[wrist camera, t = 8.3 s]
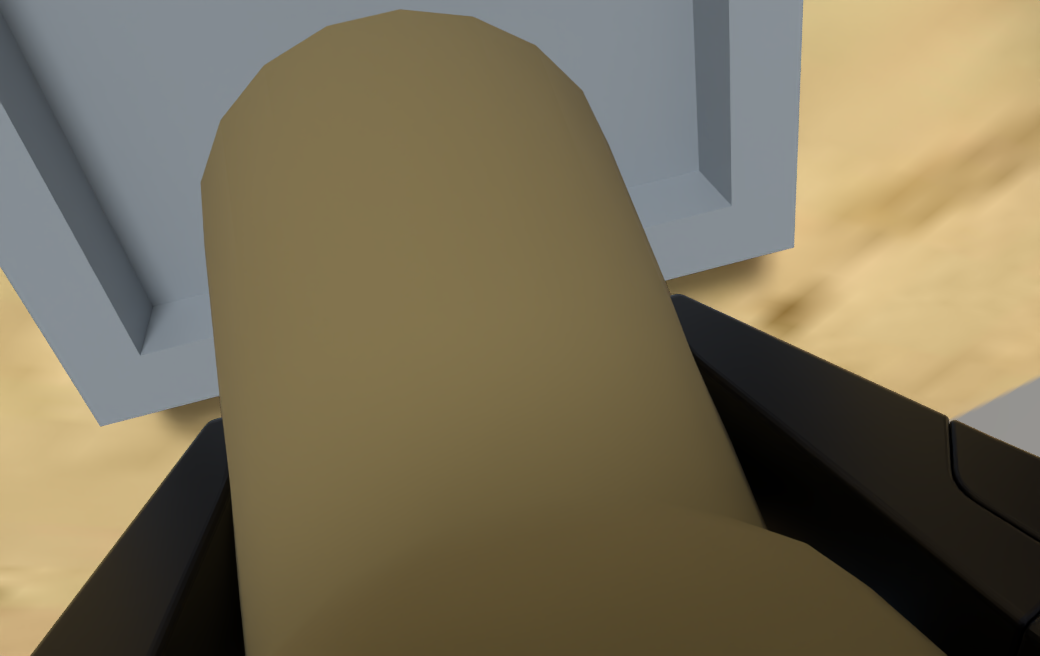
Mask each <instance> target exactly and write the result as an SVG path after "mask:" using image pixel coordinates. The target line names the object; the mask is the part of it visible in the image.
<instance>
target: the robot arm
mask: <svg viewBox="0 0 1040 656" xmlns="http://www.w3.org/2000/svg"><path fill="white" fill-rule="evenodd" d="M670 297H671V300H672V303H673V305H674V308H675V311H676V313H677V316H678V318H679V321H680V324H681V326H682V329H683V332H684V334H685V337H686V340H687V342H688V345H689V347H690V350H691V352H692V355H693V357H694V360H695V362H696V365H697V367H698V369H699V371H700V374H701V376H702V378H703V380H704V382H705V385H706V387H707V389H708V391H709V393H710V396H711V398H712V400H713V402H714V404H715V407H716V409H717V411H718V413H719V415H720V418H721V420H722V422H723V424H724V426H725V429H726V431H727V433H728V435H729V437H730V440H731V442H732V444H733V447H734V449H735V452H736V454H737V456H738V459H739V461H740V464H741V466H742V468H743V471H744V473H745V476H746V478H747V481H748V483H749V485H750V488H751V490H752V493H753V495H754V498H755V500H756V502H757V505H758V507H759V510H760V512H761V514H762V517H763V519H764V522H765V524H766V527H767V529H768V531H771V532H774V533H777V534H780V535H783V536H786V537H789V538H792V539H795V540H798V541H801V542H803V543H806V544H808V545H809V546H811V547H812V548H814V549H815V550H817V551H818V552H820V553H821V554H822V555H824V556H825V557H827V558H828V559H830V560H831V561H833V562H834V563H835V564H837V565H838V566H840V567H841V568H843V569H844V570H846V571H847V572H848V573H850V574H851V575H853V576H854V577H856V578H857V579H859V580H860V581H862V582H863V583H864V584H866V585H867V586H869V587H870V588H871V589H873V590H874V591H875V592H876V593H877V594H878V595H879V596H881V597H882V598H883V599H884V600H885V601H886V602H887V603H888V604H890V605H891V606H892V607H893V608H894V609H895V610H896V611H898V612H899V613H900V614H901V615H902V616H903V617H904V618H906V619H907V620H908V621H909V622H910V623H911V624H912V625H914V626H915V627H916V628H917V629H918V630H919V631H920V632H922V633H923V634H924V635H925V636H926V637H927V638H928V639H929V640H931V641H932V642H933V643H934V644H935V645H936V646H937V647H939V648H940V649H941V650H942V651H943V652H944V653H945V654H947V655H948V656H1040V457H1038V456H1036V455H1033V454H1031V453H1029V452H1027V451H1024V450H1022V449H1019V448H1017V447H1015V446H1013V445H1010V444H1008V443H1006V442H1004V441H1001V440H999V439H997V438H994V437H992V436H990V435H987V434H985V433H983V432H981V431H979V430H977V429H975V428H972V427H970V426H968V425H965V424H964V423H961V422H959V421H957V420H952V421H951V422H950V424H949V418H948V417H947V416H946V415H943V414H941V413H939V412H937V411H935V410H933V409H930V408H928V407H926V406H924V405H922V404H920V403H917V402H915V401H913V400H911V399H909V398H906V397H904V396H902V395H900V394H898V393H896V392H893V391H891V390H889V389H887V388H885V387H883V386H880V385H878V384H876V383H874V382H872V381H869V380H867V379H865V378H863V377H861V376H859V375H856V374H854V373H852V372H850V371H848V370H846V369H843V368H841V367H839V366H837V365H835V364H833V363H830V362H828V361H826V360H824V359H822V358H819V357H817V356H815V355H813V354H811V353H809V352H806V351H804V350H802V349H800V348H798V347H796V346H793V345H791V344H789V343H787V342H785V341H782V340H780V339H778V338H776V337H774V336H772V335H769V334H767V333H765V332H763V331H761V330H759V329H756V328H754V327H752V326H750V325H748V324H746V323H743V322H741V321H739V320H737V319H735V318H732V317H730V316H728V315H726V314H724V313H722V312H719V311H717V310H715V309H713V308H711V307H709V306H706V305H704V304H702V303H700V302H698V301H695V300H693V299H691V298H689V297H687V296H684V295H681V294H675V295H671V296H670ZM31 656H245V646H244V636H243V626H242V616H241V606H240V596H239V586H238V576H237V564H236V552H235V539H234V526H233V514H232V501H231V489H230V479H229V470H228V461H227V453H226V444H225V436H224V428H223V419H222V417H221V418H217V419H214V420H211V421H210V422H208V423H207V424H206V425H205V427H204V428H203V429H202V430H201V432H200V433H199V434H198V436H197V437H196V438H195V440H194V441H193V442H192V444H191V445H190V446H189V448H188V449H187V450H186V452H185V453H184V454H183V455H182V457H181V458H180V459H179V461H178V462H177V463H176V465H175V466H174V467H173V469H172V470H171V471H170V473H169V474H168V475H167V477H166V478H165V479H164V480H163V482H162V483H161V484H160V486H159V487H158V488H157V490H156V491H155V492H154V494H153V495H152V496H151V498H150V499H149V500H148V502H147V503H146V504H145V505H144V507H143V508H142V509H141V511H140V512H139V513H138V515H137V516H136V517H135V519H134V520H133V521H132V523H131V524H130V525H129V527H128V528H127V529H126V530H125V532H124V533H123V534H122V536H121V537H120V538H119V540H118V541H117V542H116V544H115V545H114V546H113V548H112V549H111V550H110V552H109V553H108V554H107V556H106V557H105V558H104V559H103V561H102V562H101V563H100V565H99V566H98V567H97V569H96V570H95V571H94V573H93V574H92V575H91V577H90V578H89V579H88V581H87V582H86V583H85V584H84V586H83V587H82V588H81V590H80V591H79V592H78V594H77V595H76V596H75V598H74V599H73V600H72V602H71V603H70V604H69V606H68V607H67V608H66V609H65V611H64V612H63V613H62V615H61V616H60V617H59V619H58V620H57V621H56V623H55V624H54V625H53V627H52V628H51V629H50V631H49V632H48V633H47V634H46V636H45V637H44V638H43V640H42V641H41V642H40V644H39V645H38V646H37V648H36V649H35V650H34V652H33V653H32V654H31Z"/></svg>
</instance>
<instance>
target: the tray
mask: <svg viewBox="0 0 1040 656" xmlns="http://www.w3.org/2000/svg"><path fill="white" fill-rule="evenodd" d="M399 9H403V10H413V11H423V12H433V13H443V14H453V15H463V16H473V17H475V18H477V19H479V20H482V21H484V22H486V23H488V24H490V25H493V26H495V27H497V28H499V29H501V30H504V31H506V32H508V33H510V34H512V35H514V36H517V37H519V38H521V39H523V40H525V41H528V42H530V43H532V44H534V45H536V46H537V47H538V48H539V49H540V50H541V51H542V52H543V53H544V54H545V55H546V56H548V57H549V58H550V59H551V60H552V61H553V62H554V63H555V64H556V65H557V66H558V67H559V68H560V69H561V70H562V71H563V72H564V73H565V74H566V75H567V76H568V77H569V78H570V79H571V80H572V81H573V82H574V83H575V84H576V85H577V86H578V87H579V88H581V89H582V90H583V93H584V95H585V97H586V99H587V101H588V103H589V105H590V107H591V109H592V111H593V113H594V115H595V117H596V119H597V121H598V123H599V125H600V127H601V130H602V132H603V134H604V136H605V138H606V140H607V142H608V144H609V146H610V149H611V151H612V154H613V156H614V158H615V161H616V163H617V166H618V168H619V171H620V173H621V175H622V178H623V180H624V183H625V185H626V187H627V190H628V192H629V195H630V197H631V200H632V202H633V204H634V207H635V209H636V212H637V214H638V217H639V219H640V221H641V224H642V226H643V229H644V231H645V233H646V236H647V238H648V241H649V243H650V246H651V248H652V250H653V253H654V255H655V258H656V260H657V263H658V265H659V267H660V270H661V272H662V275H663V277H664V280H665V281H666V280H670V279H673V278H677V277H681V276H685V275H689V274H693V273H697V272H700V271H704V270H708V269H712V268H716V267H720V266H724V265H728V264H731V263H735V262H739V261H743V260H747V259H751V258H755V257H759V256H762V255H766V254H770V253H774V252H778V251H782V250H786V249H790V248H793V247H794V232H795V206H796V179H797V152H798V125H799V99H800V72H801V45H802V18H803V0H0V267H1V269H2V270H3V272H4V273H5V275H6V276H7V278H8V280H9V281H10V283H11V284H12V286H13V288H14V289H15V291H16V292H17V294H18V296H19V297H20V299H21V300H22V302H23V304H24V305H25V307H26V308H27V310H28V312H29V313H30V315H31V316H32V318H33V320H34V321H35V323H36V324H37V326H38V328H39V329H40V331H41V332H42V334H43V336H44V337H45V339H46V340H47V342H48V344H49V345H50V347H51V348H52V350H53V352H54V353H55V355H56V356H57V358H58V360H59V361H60V363H61V364H62V366H63V368H64V369H65V371H66V372H67V374H68V375H69V377H70V379H71V380H72V382H73V383H74V385H75V387H76V388H77V390H78V391H79V393H80V395H81V396H82V398H83V399H84V401H85V403H86V404H87V406H88V407H89V409H90V411H91V412H92V414H93V415H94V417H95V419H96V420H97V422H98V423H99V425H100V426H104V425H108V424H112V423H116V422H120V421H124V420H128V419H131V418H135V417H139V416H143V415H147V414H151V413H155V412H159V411H162V410H166V409H170V408H174V407H178V406H182V405H186V404H190V403H193V402H197V401H201V400H205V399H209V398H213V397H217V396H219V387H218V377H217V367H216V357H215V347H214V337H213V327H212V317H211V307H210V297H209V287H208V277H207V267H206V257H205V247H204V232H203V216H202V200H201V180H202V177H203V173H204V170H205V167H206V164H207V161H208V158H209V155H210V151H211V148H212V145H213V142H214V139H215V136H216V132H217V129H218V126H219V123H220V120H221V119H222V118H223V116H224V115H225V114H226V112H227V111H228V110H229V109H230V107H231V106H232V105H233V104H234V102H235V101H236V100H237V99H238V97H239V96H240V95H241V93H242V92H243V91H244V90H245V88H246V87H247V86H248V85H249V83H250V82H251V81H252V80H253V78H254V77H255V76H256V75H257V73H258V72H259V71H260V69H261V68H262V67H263V66H264V65H265V64H267V63H268V62H270V61H271V60H273V59H275V58H276V57H278V56H279V55H281V54H283V53H284V52H286V51H287V50H289V49H291V48H292V47H294V46H295V45H297V44H299V43H300V42H302V41H303V40H305V39H307V38H308V37H310V36H311V35H313V34H315V33H316V32H318V31H320V30H321V29H323V28H324V27H326V26H329V25H333V24H338V23H342V22H346V21H351V20H355V19H359V18H364V17H368V16H373V15H377V14H381V13H386V12H390V11H394V10H399Z"/></svg>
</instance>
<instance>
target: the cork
mask: <svg viewBox="0 0 1040 656" xmlns="http://www.w3.org/2000/svg"><path fill="white" fill-rule="evenodd" d="M201 200H202V216H203V232H204V247H205V257H206V267H207V277H208V287H209V297H210V307H211V317H212V327H213V337H214V347H215V357H216V367H217V377H218V387H219V397H220V407H221V417H222V419H223V428H224V436H225V444H226V453H227V461H228V470H229V479H230V489H231V501H232V514H233V526H234V539H235V552H236V564H237V576H238V586H239V596H240V606H241V616H242V626H243V636H244V646H245V656H948V655H947V654H945V653H944V652H943V651H942V650H941V649H940V648H939V647H937V646H936V645H935V644H934V643H933V642H932V641H931V640H929V639H928V638H927V637H926V636H925V635H924V634H923V633H922V632H920V631H919V630H918V629H917V628H916V627H915V626H914V625H912V624H911V623H910V622H909V621H908V620H907V619H906V618H904V617H903V616H902V615H901V614H900V613H899V612H898V611H896V610H895V609H894V608H893V607H892V606H891V605H890V604H888V603H887V602H886V601H885V600H884V599H883V598H882V597H881V596H879V595H878V594H877V593H876V592H875V591H874V590H873V589H871V588H870V587H869V586H867V585H866V584H864V583H863V582H862V581H860V580H859V579H857V578H856V577H854V576H853V575H851V574H850V573H848V572H847V571H846V570H844V569H843V568H841V567H840V566H838V565H837V564H835V563H834V562H833V561H831V560H830V559H828V558H827V557H825V556H824V555H822V554H821V553H820V552H818V551H817V550H815V549H814V548H812V547H811V546H809V545H808V544H806V543H803V542H801V541H798V540H795V539H792V538H789V537H786V536H783V535H780V534H777V533H774V532H771V531H768V529H767V527H766V524H765V522H764V519H763V517H762V514H761V512H760V510H759V507H758V505H757V502H756V500H755V498H754V495H753V493H752V490H751V488H750V485H749V483H748V481H747V478H746V476H745V473H744V471H743V468H742V466H741V464H740V461H739V459H738V456H737V454H736V452H735V449H734V447H733V444H732V442H731V440H730V437H729V435H728V433H727V431H726V429H725V426H724V424H723V422H722V420H721V418H720V415H719V413H718V411H717V409H716V407H715V404H714V402H713V400H712V398H711V396H710V393H709V391H708V389H707V387H706V385H705V382H704V380H703V378H702V376H701V374H700V371H699V369H698V367H697V365H696V362H695V360H694V357H693V355H692V352H691V350H690V347H689V345H688V342H687V340H686V337H685V334H684V332H683V329H682V326H681V324H680V321H679V318H678V316H677V313H676V311H675V308H674V305H673V303H672V300H671V297H670V296H671V294H670V292H669V289H668V287H667V284H666V282H665V280H664V277H663V275H662V272H661V270H660V267H659V265H658V263H657V260H656V258H655V255H654V253H653V250H652V248H651V246H650V243H649V241H648V238H647V236H646V233H645V231H644V229H643V226H642V224H641V221H640V219H639V217H638V214H637V212H636V209H635V207H634V204H633V202H632V200H631V197H630V195H629V192H628V190H627V187H626V185H625V183H624V180H623V178H622V175H621V173H620V171H619V168H618V166H617V163H616V161H615V158H614V156H613V154H612V151H611V149H610V146H609V144H608V142H607V140H606V138H605V136H604V134H603V132H602V130H601V127H600V125H599V123H598V121H597V119H596V117H595V115H594V113H593V111H592V109H591V107H590V105H589V103H588V101H587V99H586V97H585V95H584V93H583V90H582V89H581V88H579V87H578V86H577V85H576V84H575V83H574V82H573V81H572V80H571V79H570V78H569V77H568V76H567V75H566V74H565V73H564V72H563V71H562V70H561V69H560V68H559V67H558V66H557V65H556V64H555V63H554V62H553V61H552V60H551V59H550V58H549V57H548V56H546V55H545V54H544V53H543V52H542V51H541V50H540V49H539V48H538V47H537V46H536V45H534V44H532V43H530V42H528V41H525V40H523V39H521V38H519V37H517V36H514V35H512V34H510V33H508V32H506V31H504V30H501V29H499V28H497V27H495V26H493V25H490V24H488V23H486V22H484V21H482V20H479V19H477V18H475V17H473V16H463V15H453V14H443V13H433V12H423V11H413V10H403V9H399V10H394V11H390V12H386V13H381V14H377V15H373V16H368V17H364V18H359V19H355V20H351V21H346V22H342V23H338V24H333V25H329V26H326V27H324V28H323V29H321V30H320V31H318V32H316V33H315V34H313V35H311V36H310V37H308V38H307V39H305V40H303V41H302V42H300V43H299V44H297V45H295V46H294V47H292V48H291V49H289V50H287V51H286V52H284V53H283V54H281V55H279V56H278V57H276V58H275V59H273V60H271V61H270V62H268V63H267V64H265V65H264V66H263V67H262V68H261V69H260V71H259V72H258V73H257V75H256V76H255V77H254V78H253V80H252V81H251V82H250V83H249V85H248V86H247V87H246V88H245V90H244V91H243V92H242V93H241V95H240V96H239V97H238V99H237V100H236V101H235V102H234V104H233V105H232V106H231V107H230V109H229V110H228V111H227V112H226V114H225V115H224V116H223V118H222V119H221V120H220V123H219V126H218V129H217V132H216V136H215V139H214V142H213V145H212V148H211V151H210V155H209V158H208V161H207V164H206V167H205V170H204V173H203V177H202V180H201Z"/></svg>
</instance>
